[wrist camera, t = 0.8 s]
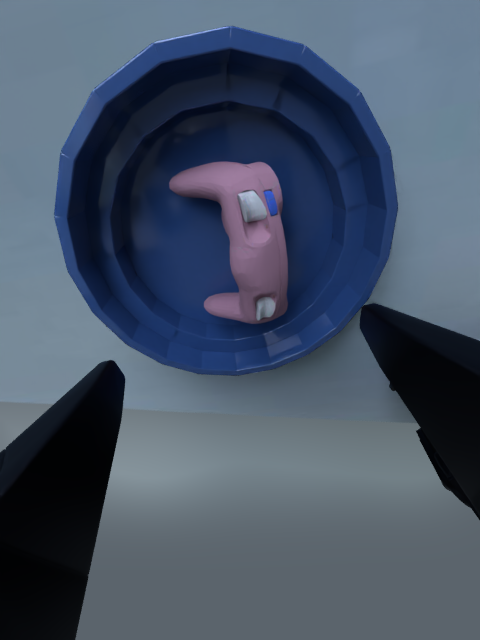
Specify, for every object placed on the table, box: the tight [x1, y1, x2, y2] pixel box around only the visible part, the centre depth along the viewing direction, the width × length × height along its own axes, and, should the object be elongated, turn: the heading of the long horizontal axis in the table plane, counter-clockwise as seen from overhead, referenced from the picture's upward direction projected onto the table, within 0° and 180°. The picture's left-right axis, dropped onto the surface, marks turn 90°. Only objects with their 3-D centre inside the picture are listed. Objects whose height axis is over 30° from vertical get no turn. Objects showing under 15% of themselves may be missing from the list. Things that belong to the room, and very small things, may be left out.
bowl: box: [54, 26, 398, 376], centre depth 16 cm, size 18×18×4 cm
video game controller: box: [169, 162, 288, 324], centre depth 16 cm, size 10×5×7 cm, turn 9°
